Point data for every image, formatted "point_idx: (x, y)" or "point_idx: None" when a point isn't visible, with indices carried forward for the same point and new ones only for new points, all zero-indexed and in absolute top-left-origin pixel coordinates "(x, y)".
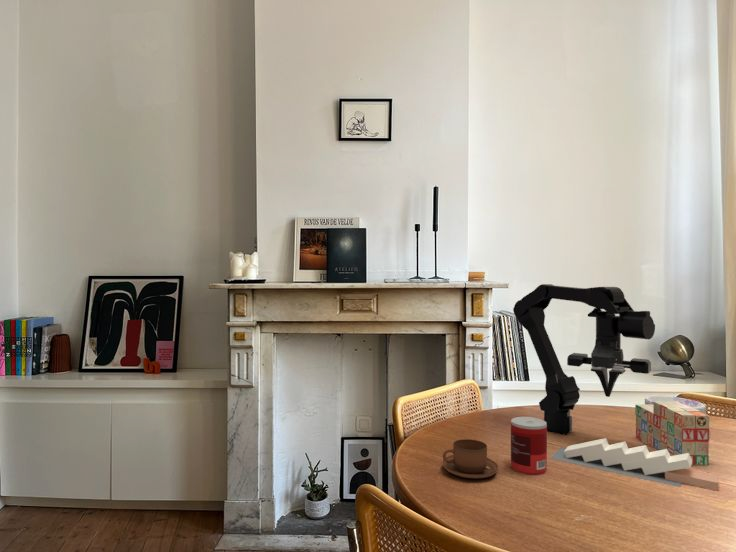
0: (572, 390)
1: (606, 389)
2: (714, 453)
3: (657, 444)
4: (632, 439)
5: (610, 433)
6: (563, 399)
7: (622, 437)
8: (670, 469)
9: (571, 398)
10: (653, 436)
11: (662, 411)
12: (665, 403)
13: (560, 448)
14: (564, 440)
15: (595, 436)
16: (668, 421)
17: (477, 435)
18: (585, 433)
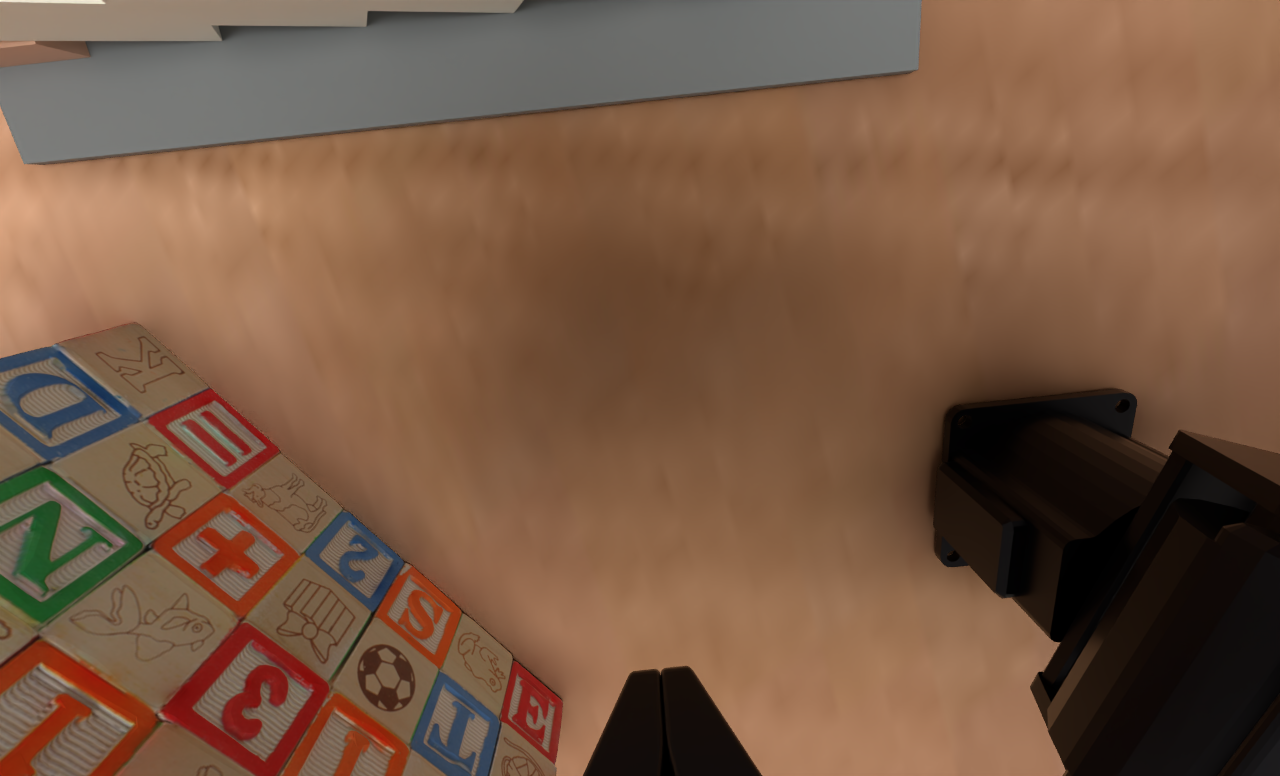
0: (1257, 768)
1: (682, 770)
2: None
3: (353, 564)
4: (568, 655)
5: (711, 680)
6: (1262, 530)
7: (628, 653)
8: None
9: (1158, 651)
10: (373, 619)
11: (77, 766)
12: None
13: (917, 17)
14: (936, 325)
15: (772, 562)
16: (19, 607)
17: None
18: (844, 579)
